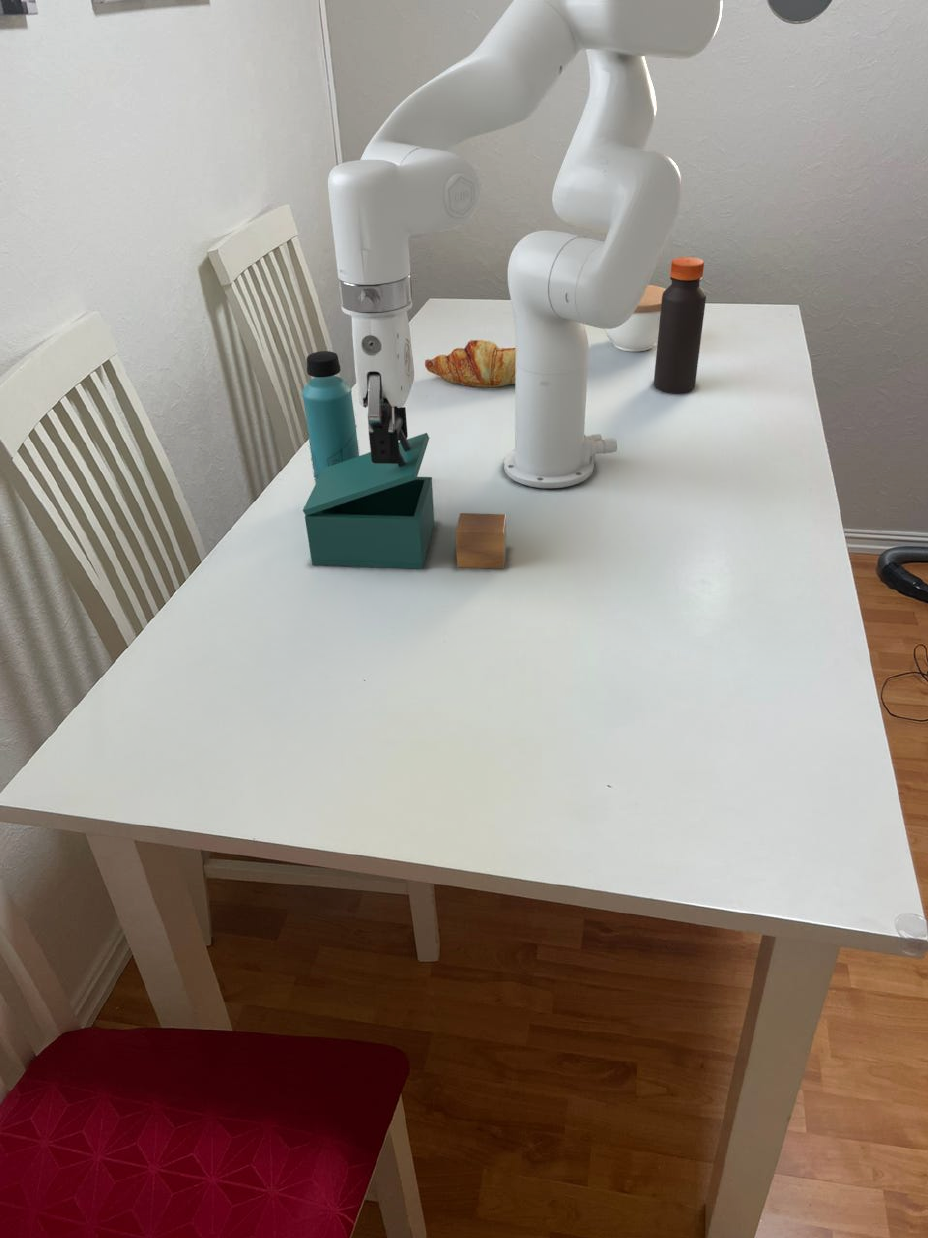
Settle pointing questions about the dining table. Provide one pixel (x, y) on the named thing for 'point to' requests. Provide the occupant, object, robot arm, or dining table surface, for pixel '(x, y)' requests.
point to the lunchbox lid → (367, 474)
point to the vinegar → (680, 327)
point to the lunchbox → (375, 529)
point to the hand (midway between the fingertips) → (390, 449)
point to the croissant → (476, 365)
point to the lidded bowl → (640, 324)
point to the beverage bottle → (329, 413)
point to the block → (481, 540)
